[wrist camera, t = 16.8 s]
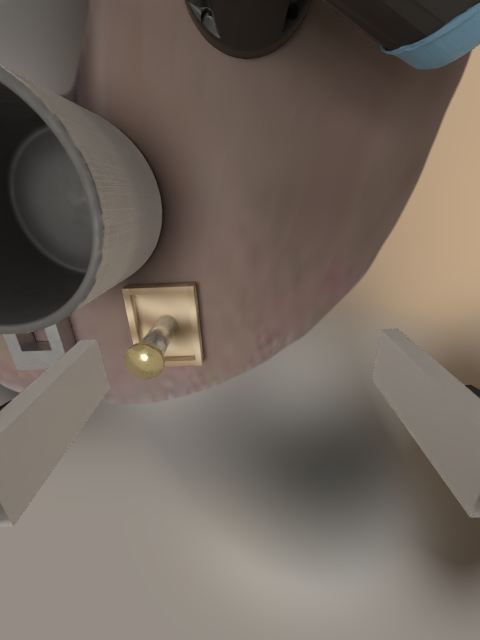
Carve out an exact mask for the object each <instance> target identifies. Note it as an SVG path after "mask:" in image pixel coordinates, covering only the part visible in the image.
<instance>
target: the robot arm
mask: <svg viewBox="0 0 480 640" xmlns="http://www.w3.org/2000/svg"><path fill="white" fill-rule="evenodd" d="M310 1H311V0H185V3H186V6H187V9H188V11H189V14H190V16H191V18H192V20H193V22H194V23H195V25H196V27H197V28H198V30H199V31H200V32H201V34H202V35H203V36H204V37H205V38H206V40H207V41H208V42H209V43H211V44H212V45H213V46H214V47H216V48H217V49H218V50H220V51H222V52H224V53H226V54H228V55H231V56H234V57H238V58H256V57H260V56H264V55H266V54H269V53H271V52H273V51H274V50H276V49H277V48H279V47H280V46H281V45H283V44H284V43H285V42H286V41H287V40H288V39H289V38H290V37H291V36H292V35H293V33H294V32H295V31H296V29H297V28H298V26H299V25H300V23H301V21H302V20H303V18H304V16H305V14H306V12H307V9H308V7H309V4H310ZM320 1H322V2H323V3H324V4H326V5H327V6H328V7H330V8H331V9H332V10H334V11H335V12H336V13H338V14H339V15H340V16H342V17H343V18H345V19H346V20H347V21H349V22H350V23H351V24H353V25H354V26H355V27H357V28H358V29H359V30H361V31H362V32H363V33H365V34H366V35H368V36H369V37H370V38H372V39H373V40H374V41H376V42H377V43H378V47H379V49H380V50H381V51H382V52H384V53H385V54H390V55H395V56H396V57H398V58H400V59H401V60H403V61H404V62H406V63H407V64H409V65H410V66H412V67H414V68H416V69H419V70H424V69H428V70H429V69H436V68H440V67H442V66H445V65H447V64H449V63H451V62H453V61H455V60H457V59H458V58H460V57H462V56H463V55H465V54H466V53H468V52H469V51H471V50H472V49H474V48H475V47H476V46H478V45H479V44H480V0H320ZM372 380H373V382H374V383H375V384H376V385H377V387H378V388H379V390H380V391H381V393H382V394H383V396H384V397H385V398H386V400H387V401H388V403H389V404H390V405H391V407H392V408H393V410H394V411H395V413H396V414H397V415H398V416H399V418H400V420H401V421H402V422H403V424H404V425H405V426H406V428H407V429H408V431H409V432H410V434H411V435H412V436H413V438H414V439H415V441H416V442H417V443H418V445H419V446H420V448H421V449H422V450H423V452H424V453H425V455H426V456H427V457H428V459H429V460H430V462H431V463H432V465H433V466H434V467H435V469H436V470H437V472H438V473H439V474H440V476H441V477H442V479H443V480H444V481H445V483H446V484H447V485H448V487H449V488H450V490H451V491H452V493H453V494H454V495H455V497H456V498H457V500H458V501H459V502H460V504H461V505H462V507H463V508H464V509H465V511H466V512H467V514H468V515H469V516H470V517H480V390H479V389H477V388H475V387H473V386H472V385H463V384H462V383H461V382H460V381H459V380H457V379H456V378H455V377H454V376H453V375H452V374H450V373H449V372H448V371H447V370H446V369H444V368H443V367H442V366H441V365H440V364H439V363H437V362H436V361H435V360H434V359H433V358H431V357H430V356H429V355H428V354H427V353H426V352H424V351H423V350H422V349H421V348H420V347H418V346H417V345H416V344H415V343H414V342H412V341H411V340H410V339H409V338H408V337H406V336H405V335H404V334H403V333H402V332H401V331H399V330H398V329H381V330H380V336H379V342H378V348H377V355H376V360H375V367H374V373H373V379H372ZM109 389H110V387H109V383H108V380H107V376H106V372H105V368H104V365H103V361H102V357H101V353H100V350H99V346H98V342H97V340H80V341H79V342H78V343H77V344H76V345H75V346H73V347H72V348H71V349H70V350H69V351H68V352H67V353H65V354H64V355H63V356H62V357H61V358H60V359H59V360H57V361H56V362H55V363H54V364H53V365H52V366H51V367H49V368H48V369H47V370H46V371H45V372H44V373H43V374H42V375H40V376H39V377H38V378H37V379H36V380H35V381H34V382H32V383H31V384H30V385H29V386H28V387H27V388H26V389H24V390H23V391H22V392H21V393H20V394H19V395H18V396H16V397H15V398H14V399H13V400H11V401H9V402H7V403H5V404H4V405H2V406H0V527H4V526H14V525H15V523H16V522H17V520H18V519H19V518H20V516H21V515H22V513H23V512H24V510H25V509H26V508H27V506H28V505H29V503H30V502H31V501H32V499H33V498H34V496H35V495H36V493H37V492H38V491H39V489H40V488H41V486H42V485H43V483H44V482H45V480H46V479H47V477H48V476H49V475H50V473H51V472H52V470H53V469H54V467H55V466H56V465H57V463H58V461H59V460H60V459H61V458H62V456H63V455H64V453H65V452H66V450H67V449H68V447H69V446H70V445H71V443H72V442H73V440H74V439H75V437H76V436H77V434H78V433H79V432H80V430H81V429H82V427H83V426H84V424H85V423H86V422H87V420H88V419H89V417H90V416H91V414H92V413H93V412H94V410H95V409H96V407H97V406H98V404H99V403H100V402H101V400H102V399H103V397H104V396H105V394H106V393H107V392H108V390H109Z"/></svg>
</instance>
